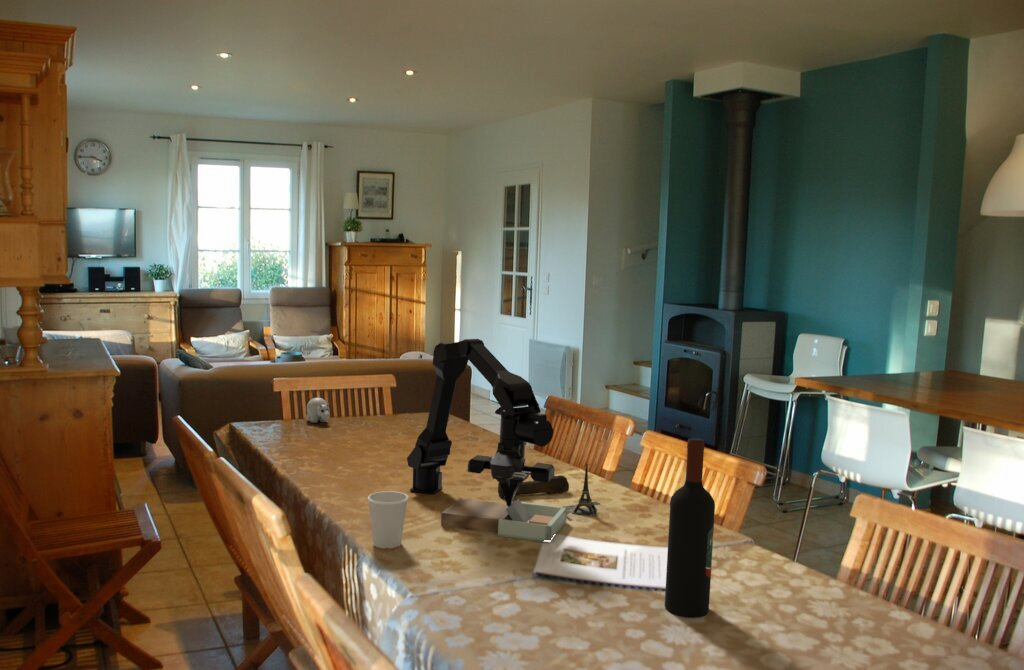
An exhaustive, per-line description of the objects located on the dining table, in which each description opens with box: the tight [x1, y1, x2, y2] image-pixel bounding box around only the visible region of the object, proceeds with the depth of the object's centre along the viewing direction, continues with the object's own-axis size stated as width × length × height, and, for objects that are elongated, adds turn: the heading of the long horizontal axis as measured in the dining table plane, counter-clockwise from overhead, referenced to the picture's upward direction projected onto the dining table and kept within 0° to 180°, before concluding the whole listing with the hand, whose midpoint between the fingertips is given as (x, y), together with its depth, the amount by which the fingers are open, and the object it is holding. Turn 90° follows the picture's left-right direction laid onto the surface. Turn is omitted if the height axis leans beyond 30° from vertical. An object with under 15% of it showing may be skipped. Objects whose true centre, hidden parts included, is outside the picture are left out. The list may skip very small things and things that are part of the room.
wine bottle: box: [664, 437, 716, 619], centre depth 148 cm, size 8×8×30 cm
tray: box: [497, 501, 567, 543], centre depth 189 cm, size 12×15×4 cm
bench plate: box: [440, 498, 512, 535], centre depth 192 cm, size 14×12×3 cm
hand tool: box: [497, 475, 570, 499], centre depth 216 cm, size 19×4×5 cm, turn 108°
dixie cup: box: [367, 490, 409, 549], centre depth 176 cm, size 8×8×10 cm
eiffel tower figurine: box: [563, 462, 601, 521], centre depth 203 cm, size 15×10×13 cm
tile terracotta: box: [529, 515, 553, 525], centre depth 188 cm, size 5×5×2 cm
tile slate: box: [505, 498, 531, 522], centre depth 190 cm, size 5×5×2 cm
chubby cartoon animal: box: [306, 397, 331, 424], centre depth 294 cm, size 7×12×8 cm, turn 34°
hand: (509, 505), depth 190 cm, fingers closed, pressing on tile slate
